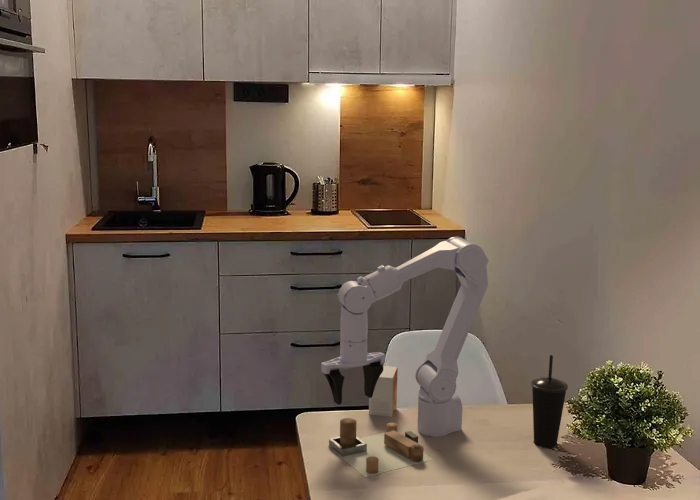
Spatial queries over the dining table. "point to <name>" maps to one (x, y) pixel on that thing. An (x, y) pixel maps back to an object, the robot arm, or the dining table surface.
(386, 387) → the small box
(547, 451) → the dining table surface
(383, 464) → the seat board
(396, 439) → the folding leg
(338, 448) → the socket
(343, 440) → the loose leg
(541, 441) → the drinking cup
